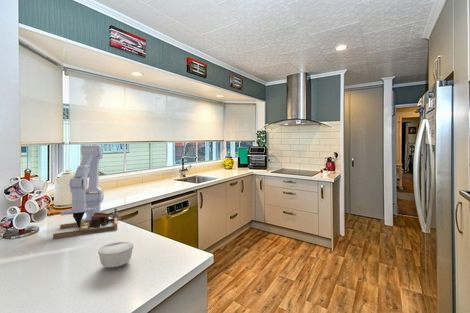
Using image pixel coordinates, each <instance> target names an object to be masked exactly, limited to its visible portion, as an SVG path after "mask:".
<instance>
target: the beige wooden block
mask: <svg viewBox="0 0 470 313" xmlns="http://www.w3.org/2000/svg"><path fill="white" fill-rule="evenodd" d="M85 222H86V223H85ZM89 224H90V222H87V221H85V219H82V220H81V226H80V228H79V230H85V229H90V228H89Z"/></svg>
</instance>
